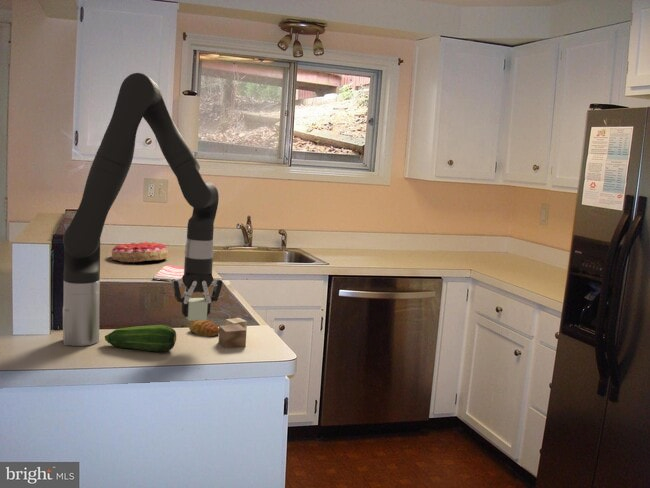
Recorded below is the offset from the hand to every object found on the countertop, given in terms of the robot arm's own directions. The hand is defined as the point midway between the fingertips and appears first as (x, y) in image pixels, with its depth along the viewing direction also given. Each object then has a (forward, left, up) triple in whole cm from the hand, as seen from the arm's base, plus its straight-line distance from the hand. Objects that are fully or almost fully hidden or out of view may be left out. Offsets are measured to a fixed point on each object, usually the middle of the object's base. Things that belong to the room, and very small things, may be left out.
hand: (195, 315), depth 182 cm
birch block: (+15, +8, -9) cm, 19 cm away
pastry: (+6, +13, -9) cm, 17 cm away
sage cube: (0, 0, -1) cm, 1 cm away
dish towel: (+17, +94, -10) cm, 97 cm away
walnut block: (+11, -1, -9) cm, 14 cm away
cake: (+9, +133, -9) cm, 133 cm away
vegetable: (-15, +2, -9) cm, 17 cm away
